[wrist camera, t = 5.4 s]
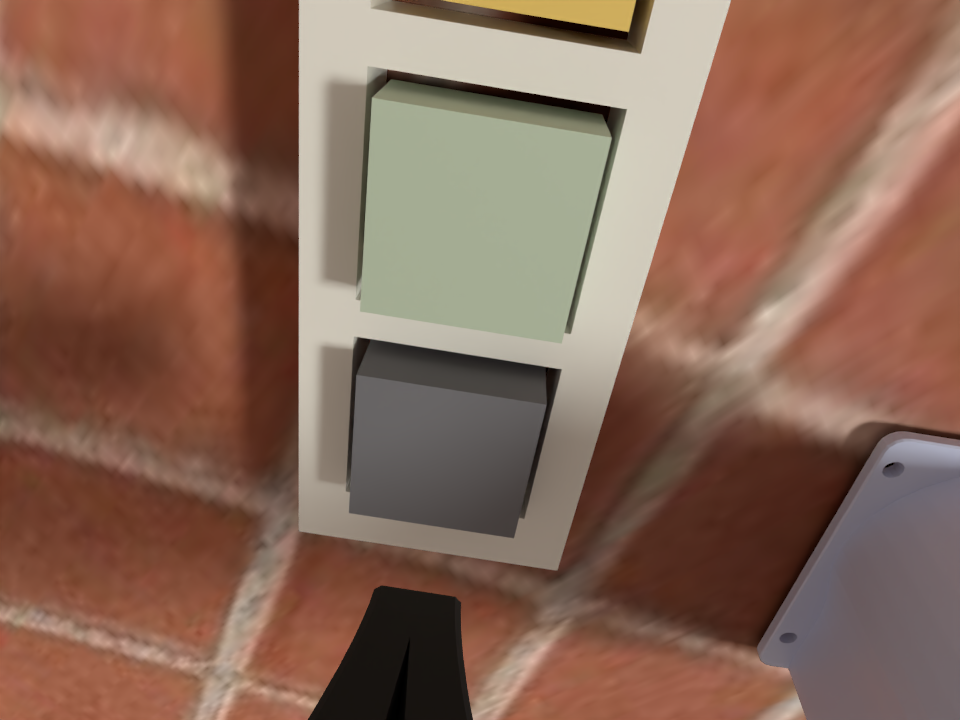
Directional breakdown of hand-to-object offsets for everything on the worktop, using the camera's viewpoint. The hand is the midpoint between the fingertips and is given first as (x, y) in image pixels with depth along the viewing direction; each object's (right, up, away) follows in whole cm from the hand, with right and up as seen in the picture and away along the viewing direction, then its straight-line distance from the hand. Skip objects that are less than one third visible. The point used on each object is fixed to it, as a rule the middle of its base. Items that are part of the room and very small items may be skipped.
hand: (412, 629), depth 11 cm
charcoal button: (0, +3, +5) cm, 6 cm away
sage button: (+1, +8, +2) cm, 8 cm away
